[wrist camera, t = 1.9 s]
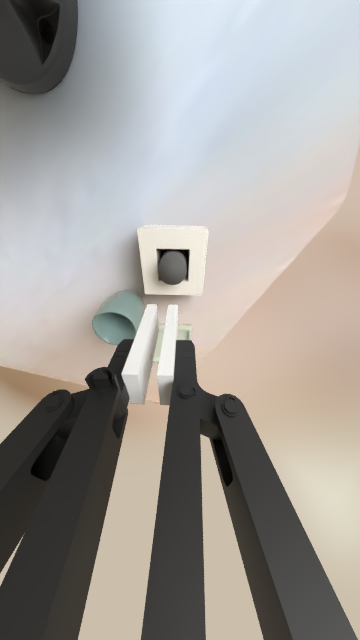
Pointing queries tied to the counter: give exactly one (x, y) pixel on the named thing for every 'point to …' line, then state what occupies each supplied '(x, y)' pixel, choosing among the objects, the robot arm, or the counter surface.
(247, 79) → the counter surface
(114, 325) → the cup
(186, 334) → the tray
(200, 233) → the housing
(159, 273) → the grey oval solid
